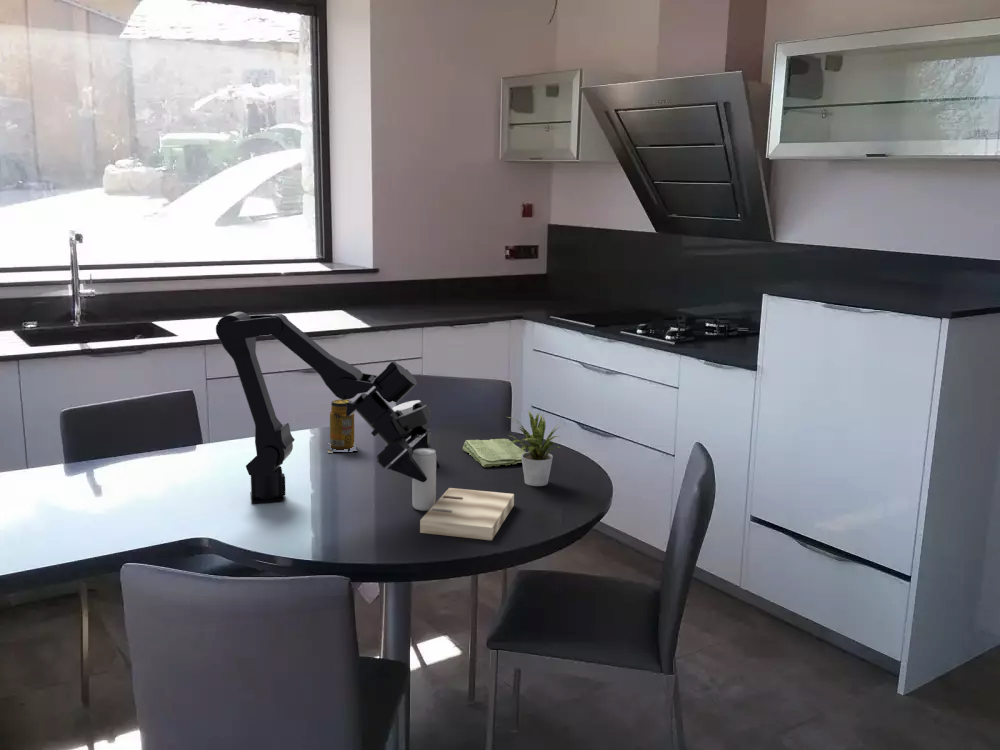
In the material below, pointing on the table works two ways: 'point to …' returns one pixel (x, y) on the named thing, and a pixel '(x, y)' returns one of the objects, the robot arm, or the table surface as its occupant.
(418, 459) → the beverage can
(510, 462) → the washcloth
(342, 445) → the condiment
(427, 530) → the chopping board
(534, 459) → the house plant
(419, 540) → the table surface
